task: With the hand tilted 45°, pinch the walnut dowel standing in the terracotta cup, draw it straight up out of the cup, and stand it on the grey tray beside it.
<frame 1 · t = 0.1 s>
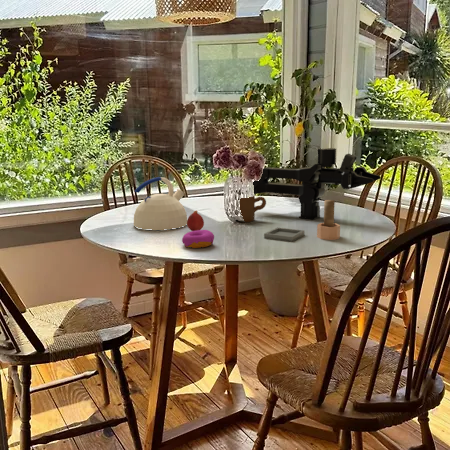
hand: (376, 179, 188), 17 cm above the table, tool horizontal, fingers open, 9 cm apart
walnut dowel: (328, 236, 172), resting on terracotta cup
kettle: (161, 225, 196), on the table
onion: (195, 233, 183), on the table
terracotta cup: (328, 238, 172), on the table
mug: (250, 220, 202), on the table
donut: (198, 246, 167), on the table
grey tray: (284, 237, 174), on the table
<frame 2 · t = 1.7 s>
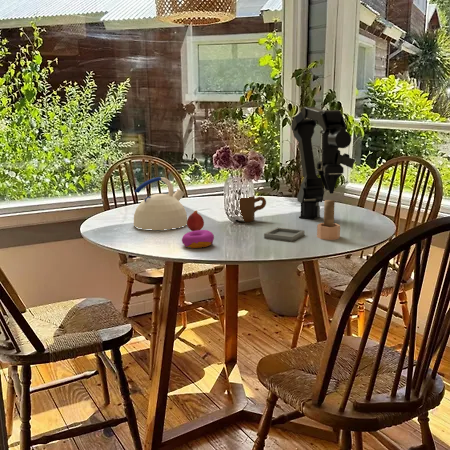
hand: (329, 191, 186), 13 cm above the table, tool pointing down, fingers open, 9 cm apart
nothing on the table moved.
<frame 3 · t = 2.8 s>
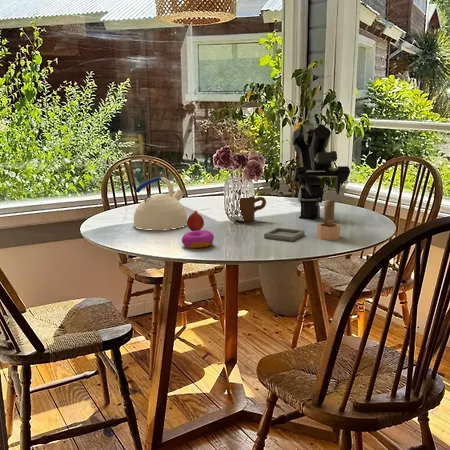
hand: (324, 194, 177), 13 cm above the table, tool tilted 45°, fingers open, 9 cm apart
nothing on the table moved.
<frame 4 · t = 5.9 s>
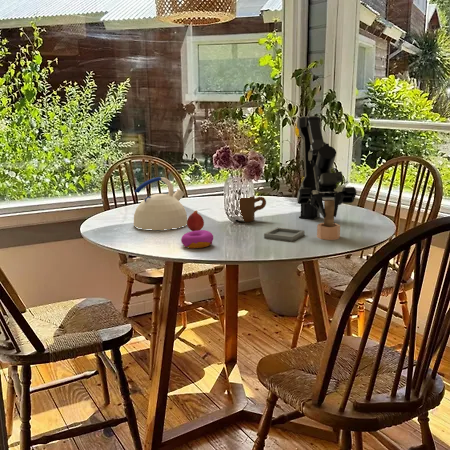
hand: (330, 216, 169), 8 cm above the table, tool tilted 45°, fingers closed on walnut dowel, 3 cm apart
walnut dowel: (328, 236, 172), point 1 cm above the table, touching gripper, terracotta cup
everything else where it was.
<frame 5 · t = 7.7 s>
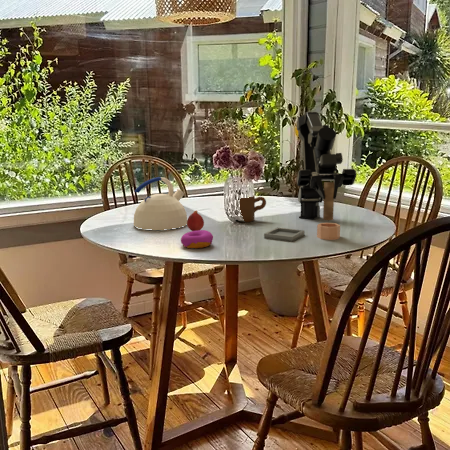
hand: (329, 198, 168), 14 cm above the table, tool tilted 45°, fingers closed on walnut dowel, 3 cm apart
walnut dowel: (328, 219, 171), point 6 cm above the table, touching gripper
everything else where it was.
when the fingers open (9 cm above the table, at t = 10.0 s): walnut dowel drops 1 cm, resting on grey tray.
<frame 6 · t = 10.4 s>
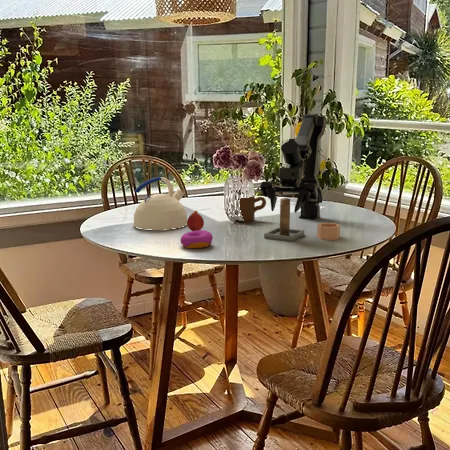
hand: (283, 211, 171), 9 cm above the table, tool tilted 45°, fingers open, 7 cm apart
walnut dowel: (284, 234, 174), point 1 cm above the table, touching grey tray
everything else where it was.
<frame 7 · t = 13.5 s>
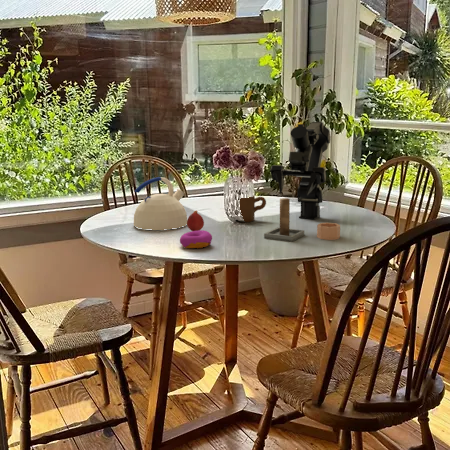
hand: (293, 193, 178), 14 cm above the table, tool tilted 45°, fingers open, 9 cm apart
nothing on the table moved.
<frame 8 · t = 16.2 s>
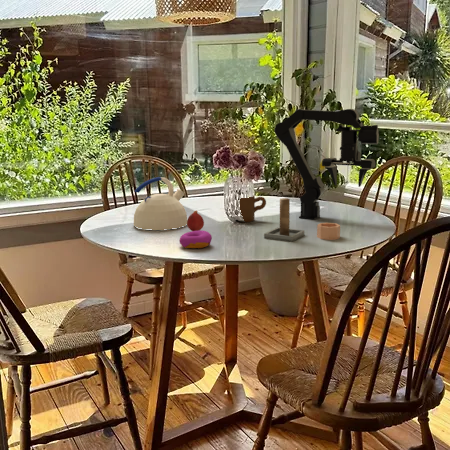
hand: (347, 186, 197), 13 cm above the table, tool pointing down, fingers open, 9 cm apart
at the end: walnut dowel inside the target area on the grey tray (0.0 cm from its centre), point 1.0 cm above the grey tray's base; walnut dowel touching grey tray; the gripper is holding nothing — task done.
